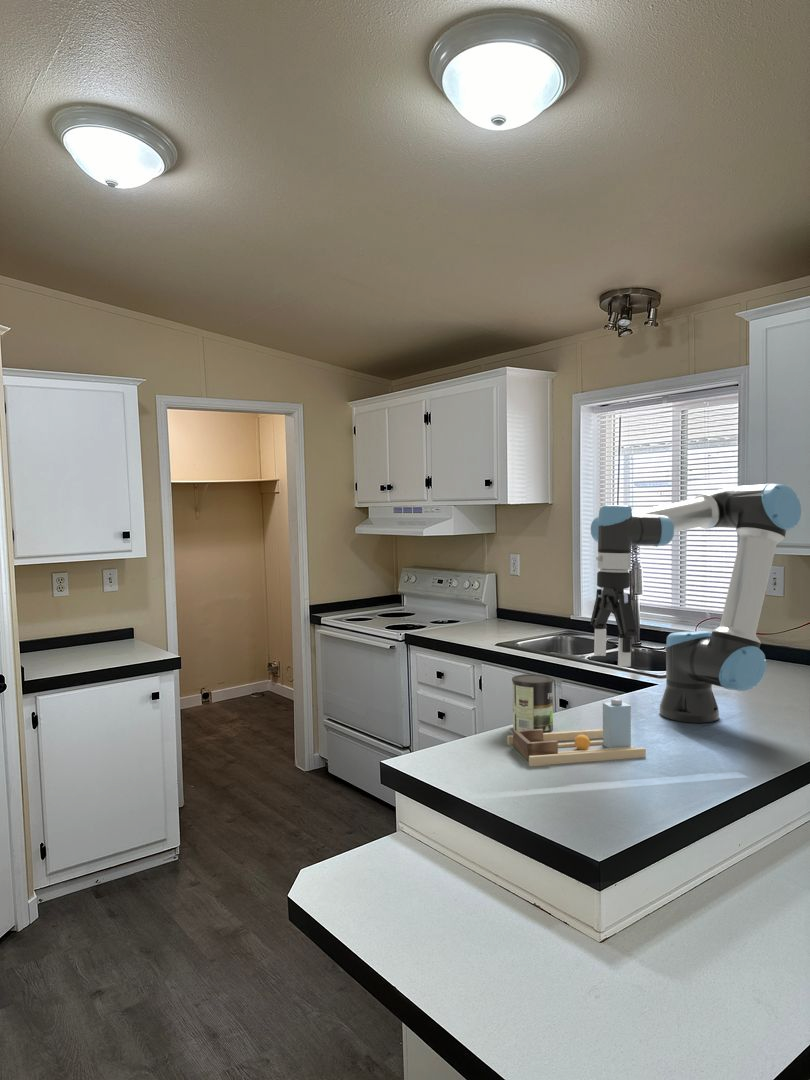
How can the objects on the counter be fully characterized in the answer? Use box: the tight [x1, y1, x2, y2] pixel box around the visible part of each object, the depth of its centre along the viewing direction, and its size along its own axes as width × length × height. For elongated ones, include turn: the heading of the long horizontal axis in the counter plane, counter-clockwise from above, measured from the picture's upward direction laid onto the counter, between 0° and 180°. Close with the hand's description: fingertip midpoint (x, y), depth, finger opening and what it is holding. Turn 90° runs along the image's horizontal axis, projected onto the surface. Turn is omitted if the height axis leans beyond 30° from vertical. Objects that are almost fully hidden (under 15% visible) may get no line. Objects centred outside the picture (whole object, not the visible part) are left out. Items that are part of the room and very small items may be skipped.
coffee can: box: [511, 673, 554, 733], centre depth 185 cm, size 10×10×14 cm
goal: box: [512, 729, 559, 762], centre depth 166 cm, size 7×10×4 cm
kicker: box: [602, 698, 632, 748], centre depth 169 cm, size 5×4×11 cm
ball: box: [574, 735, 591, 750], centre depth 168 cm, size 4×4×4 cm
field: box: [506, 728, 647, 767], centre depth 168 cm, size 27×16×3 cm, turn 100°
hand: (611, 660), depth 171 cm, fingers open, 13 cm apart
